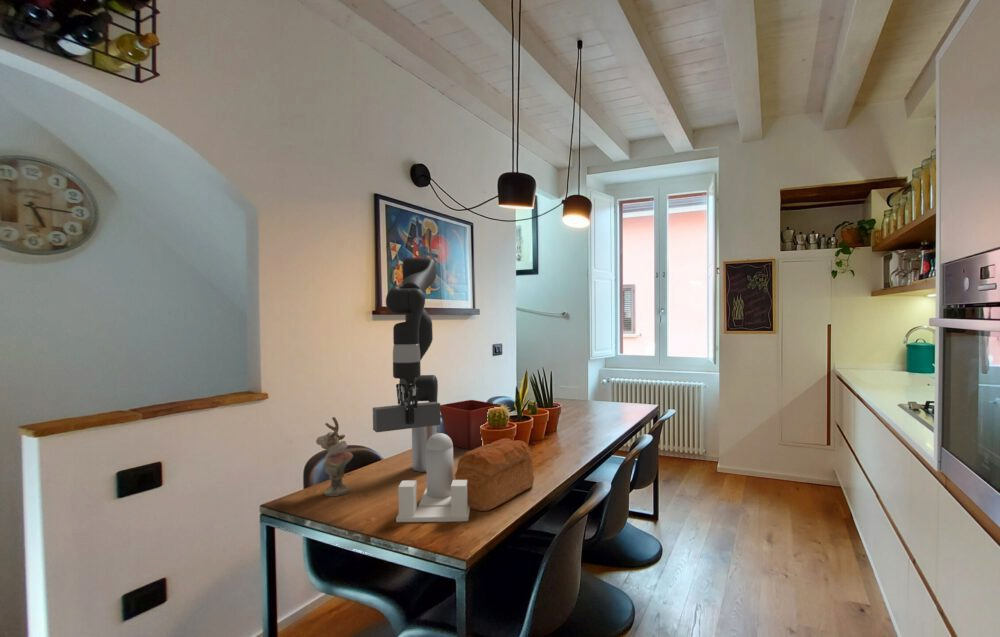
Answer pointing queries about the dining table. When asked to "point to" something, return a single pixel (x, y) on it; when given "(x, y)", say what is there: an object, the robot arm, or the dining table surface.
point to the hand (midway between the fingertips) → (407, 422)
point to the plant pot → (465, 421)
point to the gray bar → (396, 417)
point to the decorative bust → (335, 459)
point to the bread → (496, 472)
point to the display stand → (435, 488)
